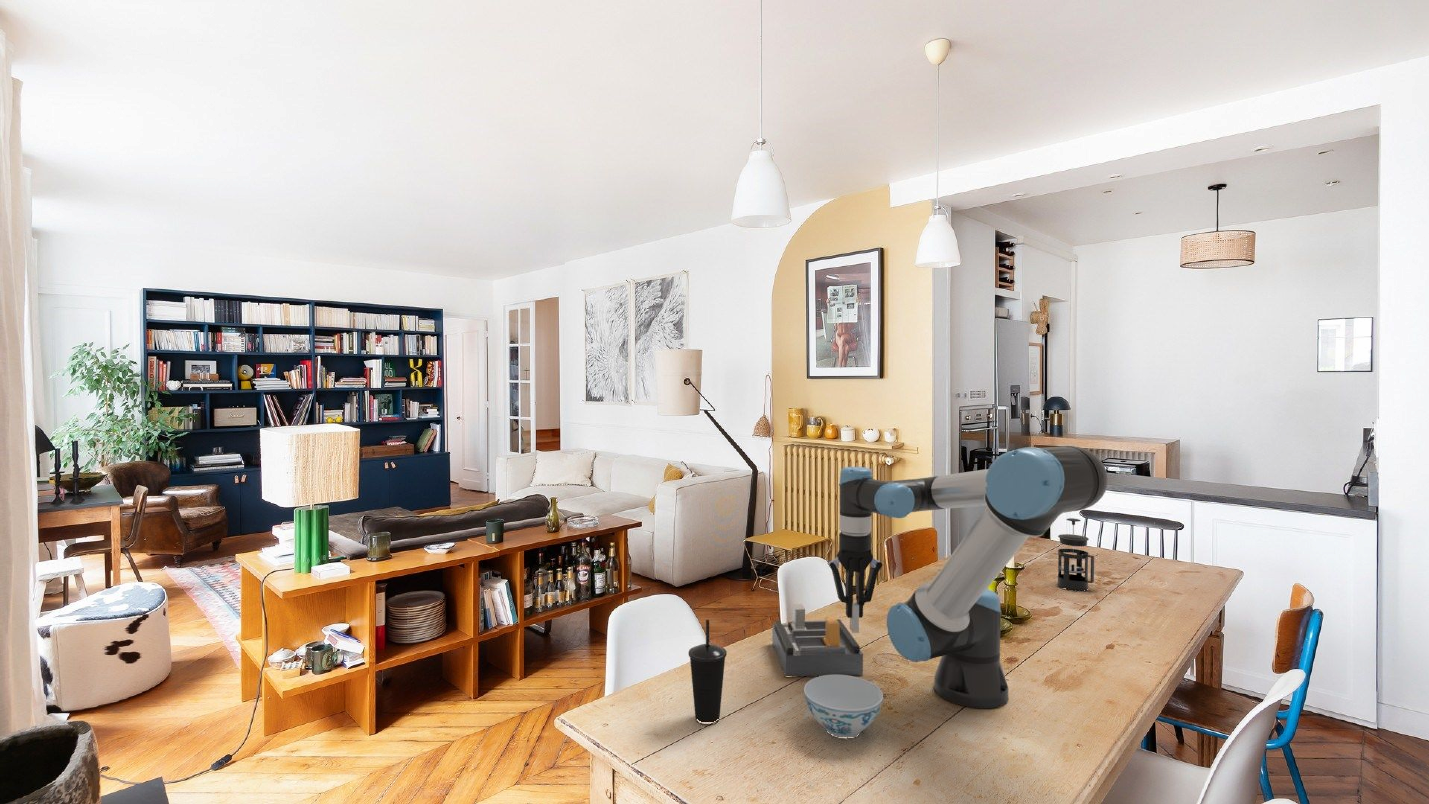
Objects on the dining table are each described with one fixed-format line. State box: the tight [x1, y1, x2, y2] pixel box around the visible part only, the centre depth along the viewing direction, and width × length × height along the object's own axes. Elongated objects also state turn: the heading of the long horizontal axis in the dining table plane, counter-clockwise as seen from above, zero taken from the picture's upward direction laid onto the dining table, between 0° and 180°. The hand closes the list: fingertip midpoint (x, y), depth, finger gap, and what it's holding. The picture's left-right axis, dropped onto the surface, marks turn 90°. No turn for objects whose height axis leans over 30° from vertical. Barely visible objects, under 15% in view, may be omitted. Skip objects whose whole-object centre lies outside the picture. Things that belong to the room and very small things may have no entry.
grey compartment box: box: [771, 603, 864, 676], centre depth 163 cm, size 20×18×11 cm
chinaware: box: [803, 675, 884, 738], centre depth 129 cm, size 15×15×8 cm
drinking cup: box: [688, 619, 728, 722], centre depth 133 cm, size 8×8×20 cm
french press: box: [1056, 517, 1095, 592], centre depth 221 cm, size 12×9×23 cm
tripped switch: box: [823, 617, 841, 646], centre depth 158 cm, size 5×3×6 cm
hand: (854, 630), depth 159 cm, fingers closed
